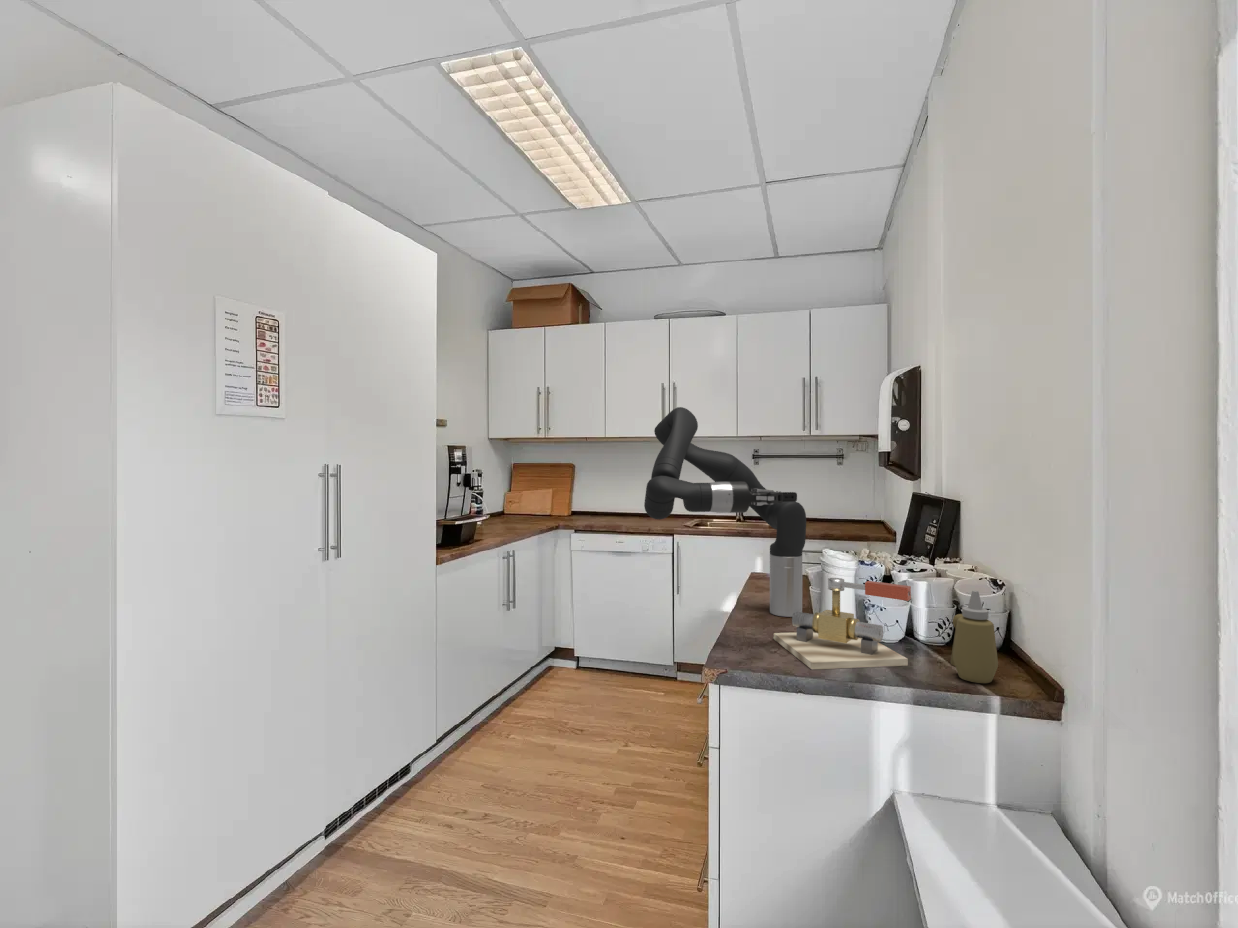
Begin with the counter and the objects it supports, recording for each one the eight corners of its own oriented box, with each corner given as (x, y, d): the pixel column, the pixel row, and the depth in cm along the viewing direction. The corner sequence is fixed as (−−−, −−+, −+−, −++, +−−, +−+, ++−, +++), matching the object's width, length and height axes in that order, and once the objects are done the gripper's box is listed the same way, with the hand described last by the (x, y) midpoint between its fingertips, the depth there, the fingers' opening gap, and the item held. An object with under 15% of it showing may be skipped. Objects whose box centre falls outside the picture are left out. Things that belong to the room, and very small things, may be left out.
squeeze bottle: (990, 674, 125) (991, 588, 125) (1004, 688, 117) (1004, 597, 117) (947, 670, 127) (948, 586, 127) (958, 683, 119) (958, 594, 119)
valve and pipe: (790, 639, 144) (790, 586, 144) (799, 634, 148) (799, 582, 148) (877, 656, 131) (877, 598, 131) (884, 650, 136) (884, 593, 136)
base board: (773, 638, 150) (773, 633, 150) (856, 636, 152) (856, 630, 152) (811, 669, 128) (811, 662, 128) (907, 665, 130) (907, 658, 130)
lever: (825, 589, 140) (825, 577, 140) (831, 587, 142) (831, 575, 142) (906, 601, 128) (906, 588, 128) (911, 598, 131) (911, 585, 131)
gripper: (735, 482, 137) (807, 482, 139) (719, 480, 150) (785, 480, 152) (735, 515, 137) (807, 514, 139) (719, 510, 150) (785, 509, 152)
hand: (795, 496), depth 146 cm, fingers closed
